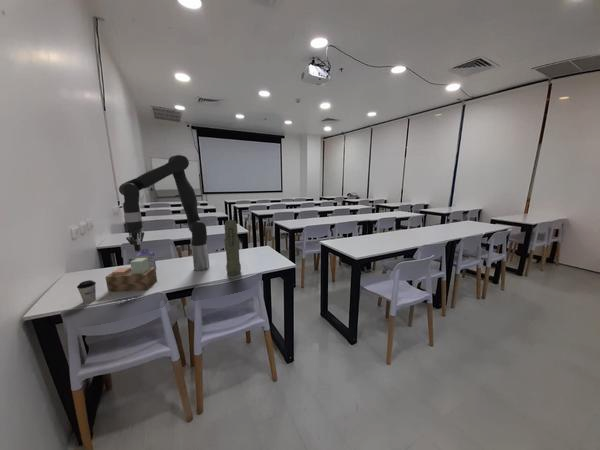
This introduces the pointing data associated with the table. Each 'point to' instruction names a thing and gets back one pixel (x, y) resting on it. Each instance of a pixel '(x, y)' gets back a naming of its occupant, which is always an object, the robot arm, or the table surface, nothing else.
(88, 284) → the coffee cup
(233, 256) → the green carved pillar
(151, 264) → the ink cartridge box
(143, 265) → the plunger
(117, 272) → the plunger
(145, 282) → the housing
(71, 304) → the table surface
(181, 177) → the robot arm
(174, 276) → the table surface
